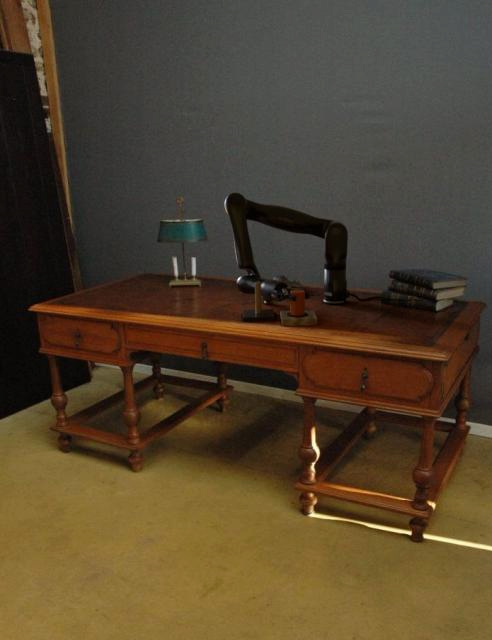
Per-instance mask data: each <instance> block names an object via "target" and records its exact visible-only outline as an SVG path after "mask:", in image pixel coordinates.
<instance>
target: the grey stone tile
mask: <svg viewBox="0 0 492 640" xmlns="http://www.w3.org/2000/svg"><path fill="white" fill-rule="evenodd" d="M289 312H290V310H280V311H279V315H280V317H279V318H280V322H281V325H282V327H294V326H297V327H298V326H299V327H300V326H318V317H317V315H316V313H315V311H314V309H305V312H307V313H308V316H305V317H290V316H287V313H289ZM294 316H295V315H294Z"/></svg>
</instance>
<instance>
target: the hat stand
mask: <svg viewBox="0 0 492 640" xmlns="http://www.w3.org/2000/svg"><path fill="white" fill-rule="evenodd" d="M254 302H255V303H254V305H255V307H254V308H255V309H242V317H243V318H242V320H243V322H269V321H275V320H276V319H275V313H274V309H273V308H267V309H266V308H265V309H264V308H263V309H262V298H261V283H260V282H256V283H255V294H254Z"/></svg>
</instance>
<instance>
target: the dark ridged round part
mask: <svg viewBox="0 0 492 640" xmlns="http://www.w3.org/2000/svg"><path fill="white" fill-rule="evenodd" d="M261 300H262V301H263V304H264V305H266V306H271V305H273V303H274V300H272V299H269V298H266V297H264V296H261Z"/></svg>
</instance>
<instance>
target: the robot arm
mask: <svg viewBox="0 0 492 640" xmlns="http://www.w3.org/2000/svg"><path fill="white" fill-rule="evenodd" d="M223 206H224V210H225V212H226V214H227V215H228V219H229V221H230V225H231V229H232V230H231V231H232V236H233V243H234V252H235V258H236V262H237V263H236V264H237V268H238V269H239V270H243V271H246V273H247V274H245V275H244V274H243V275H241V276H239V277H238V278H237V279H236V287H237V290H238V291H239V292H240V293H243V294H247V295H255V283H256V282H260V283H261V296H264V297H266V298H269V299H272V300H273V301H277V302H283V301H290V300H291V301H296V295H293V294H290V293H291V291H292V290H304V291H305V300H309V299H310V293H309V292H306V291H307V290H306V289H304V288H303V287H302V288H299V287H297V289H294V288H291V287H288V286H287V284H286V283H284V282H280V281H276V280H273V279H269V278H266V277H262V276H261V274H260V271H259V270H258V266H257V265H256V263H255V257H254V251H253V246H252V242H251V238H250V233H249V228H248V221H251V222H252V221H253V222H255V223H256V222H257V223H259V224H262V225H265V226H267V227H269V228H273V229H276V230H280V231H283V232H287V233H290V234H291V233H292V234H299V235H300V234H302V235H309V236H314V237H318V238H320V239H323V240H324V255H323V299H322V300H323V301H322V302H323V303H324V304H328V305H342V304H347V299H350V297H354V298H355V299H356V300H357V301H359V302H365V301H370V300H377V299H382V297H381V296H382V295H381V296H380V295H379V296H378V295H377V296H376V295H375V296H370V297H365V298H360V297H359V296H358V295H357V294H354V293H351V292H350V291H349V289H348V280H347V260H348V259H347V258H348V244H349V243H348V242H349V233H348V231H349V230H348V228H347V227H346V225H345V224H344V222H342V221H340V220H334V219H328V218H327V219H326V218H321V217H316V216H313V215H311V214H308V213H306V212H303V211H300V210H297V209H294V208H291V207H286V206H283V205H277V204H263V203H260V202H256V201H254V200H251V199H248V198H246V197H245V196H244V195H243V194H242V193H240V192H231V193H230V194H228V195H227V197H226V198H225V200H224V205H223ZM382 300H383V299H382Z"/></svg>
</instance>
